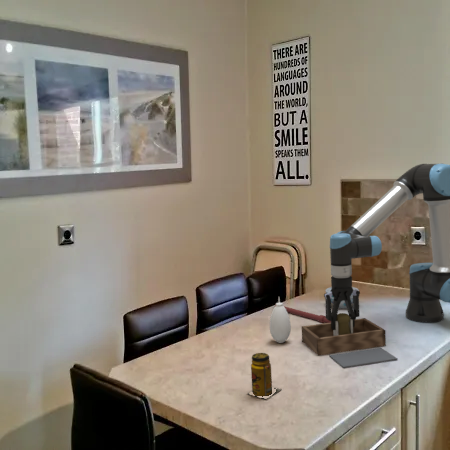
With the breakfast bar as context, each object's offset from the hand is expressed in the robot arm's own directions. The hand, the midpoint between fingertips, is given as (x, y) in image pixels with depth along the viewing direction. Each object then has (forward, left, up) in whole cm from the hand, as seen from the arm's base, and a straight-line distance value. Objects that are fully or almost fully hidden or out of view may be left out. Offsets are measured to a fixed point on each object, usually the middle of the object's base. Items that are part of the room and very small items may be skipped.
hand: (343, 336), depth 201 cm
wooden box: (0, 0, -3) cm, 3 cm away
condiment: (+40, +29, -3) cm, 50 cm away
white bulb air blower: (+21, -10, -3) cm, 24 cm away
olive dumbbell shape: (0, 0, -2) cm, 2 cm away
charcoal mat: (0, +16, -3) cm, 16 cm away
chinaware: (-21, -44, -3) cm, 49 cm away
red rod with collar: (-1, -32, -3) cm, 32 cm away
